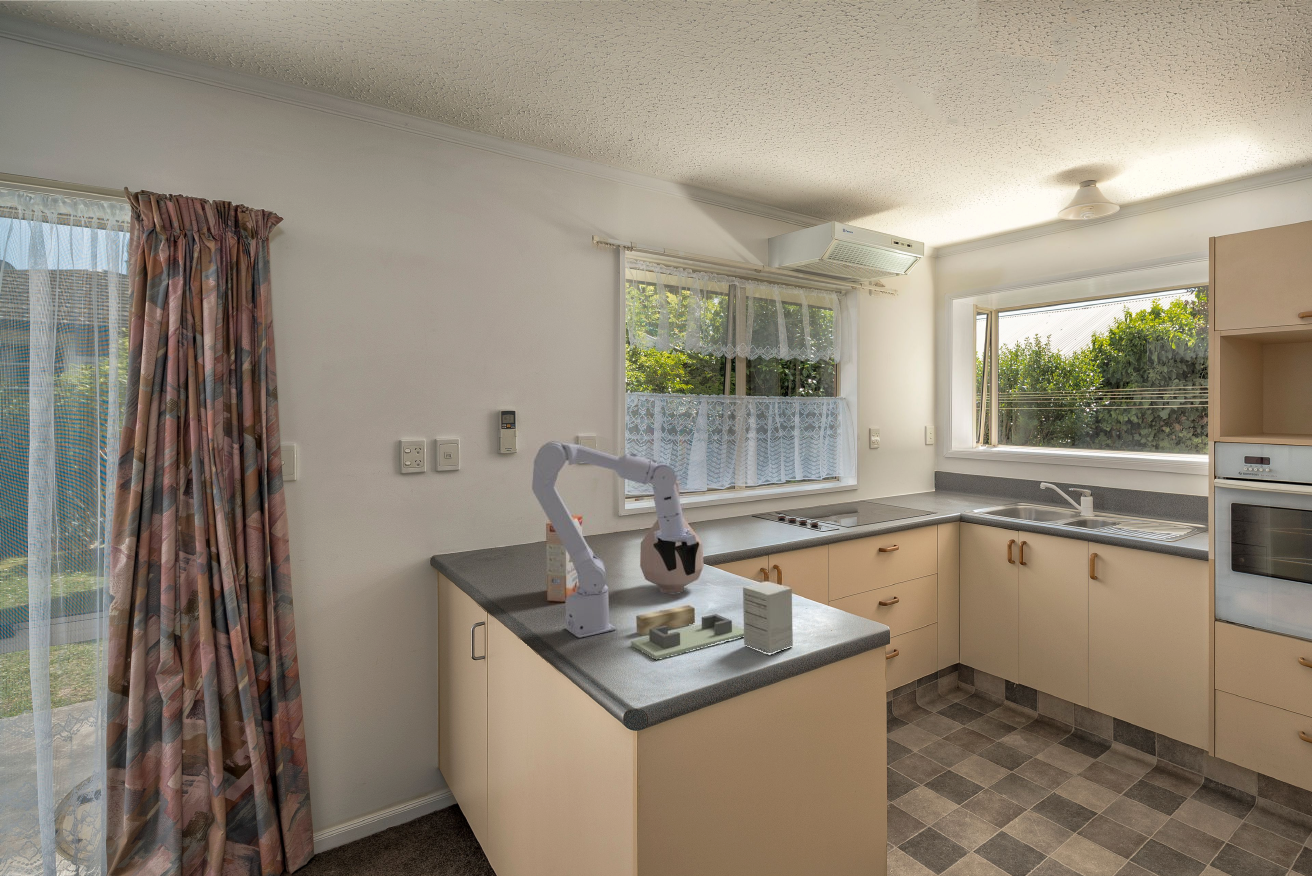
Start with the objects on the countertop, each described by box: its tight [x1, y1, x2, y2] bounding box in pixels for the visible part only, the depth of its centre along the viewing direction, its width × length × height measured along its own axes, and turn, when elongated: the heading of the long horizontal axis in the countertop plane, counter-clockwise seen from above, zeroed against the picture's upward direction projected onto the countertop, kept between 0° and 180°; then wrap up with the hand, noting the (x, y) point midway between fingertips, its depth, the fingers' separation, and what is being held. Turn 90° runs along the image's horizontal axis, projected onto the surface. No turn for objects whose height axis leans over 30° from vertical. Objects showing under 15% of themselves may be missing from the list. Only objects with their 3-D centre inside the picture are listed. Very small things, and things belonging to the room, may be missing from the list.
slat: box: [635, 605, 696, 636], centre depth 144 cm, size 14×2×4 cm, turn 120°
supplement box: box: [742, 581, 794, 653], centre depth 131 cm, size 7×7×13 cm
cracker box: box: [545, 514, 583, 603], centre depth 172 cm, size 14×6×21 cm, turn 168°
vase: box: [639, 480, 705, 594], centre depth 174 cm, size 18×18×30 cm
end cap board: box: [630, 613, 744, 661], centre depth 136 cm, size 24×10×4 cm, turn 122°
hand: (681, 571), depth 146 cm, fingers open, 7 cm apart
